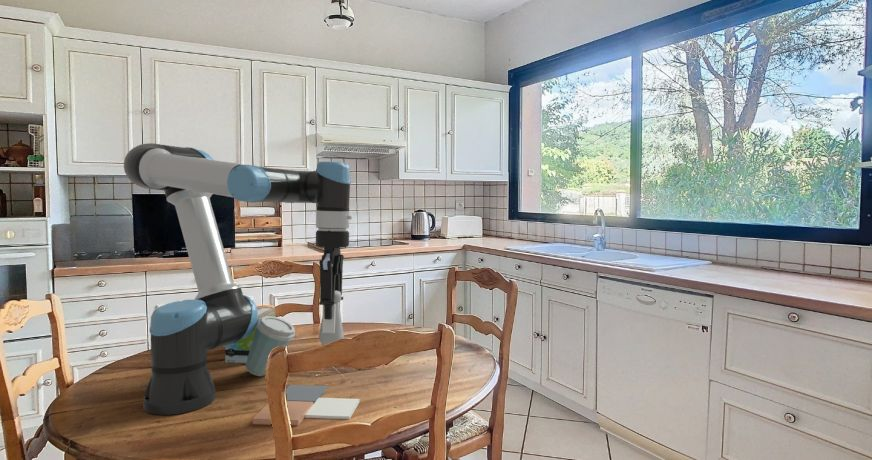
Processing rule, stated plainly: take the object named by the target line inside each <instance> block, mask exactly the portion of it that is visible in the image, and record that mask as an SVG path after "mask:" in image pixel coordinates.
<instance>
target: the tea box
mask: <svg viewBox="0 0 872 460" xmlns="http://www.w3.org/2000/svg"><path fill="white" fill-rule="evenodd" d="M257 311H258V320H259V319H260V318H262V317H265V316H272V317H276V308H274V307H273V308H271V307H269V308H268V307H266V308H265V307H264V308H263V307H262V308H261V307H260V308H259V307H257ZM258 320H257V322H258ZM256 328H257V326H255V328H254V331H253V332H252V333H251V335H249V336H248V337H247V338H245V339H242V340H240V341H238V342H236V343H232V344H228V345H225V348H224V351H225V352H224V353H225V355H224V362H225V364H230V363H231V364H246V362H247V358H248V355H249V351H250V348H251V345H252V341H253V338H254V334H255V331H256Z"/></svg>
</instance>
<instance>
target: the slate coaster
mask: <svg viewBox="0 0 872 460" xmlns="http://www.w3.org/2000/svg"><path fill="white" fill-rule="evenodd" d="M286 388H287V389H286ZM286 388H285V389H286V394H287V401H304V402H313V404H314V403H315V402H316V400H317V399H318V398H322V396H323V395H324V394H325V392H326V390H328V388H329V386H328V385H305V384H303V385H302V384H289V385H288V386H287V387H286Z"/></svg>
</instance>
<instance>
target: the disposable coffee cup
mask: <svg viewBox="0 0 872 460" xmlns="http://www.w3.org/2000/svg"><path fill="white" fill-rule="evenodd" d="M256 326H257V328H256V331H255V334H254V338H253V341H252V345H251V348H250V351H249V355H248V358H247V362H246V363H245V369H246V370H247V372H249V374H251V375H253V376H257V377H264V376H266V375H265V368H266V363H267V359H268V355H269V353H270V351H271V350H272V349H273V348H275V347H277V346H282V345H285V346H287V347H288V346H289V345H290V343H291V341H292V340H294V338H295V336H296V335H295V334H296V329H295V327H294V325H293V324H292V323H291V322H289V321H286V320H285V319H283V318H280V317H278V316H277V317H276V316H275V317H272V316H265V317H262V318H260V319H259V320H258V322H257V325H256Z"/></svg>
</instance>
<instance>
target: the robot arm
mask: <svg viewBox="0 0 872 460" xmlns="http://www.w3.org/2000/svg"><path fill="white" fill-rule="evenodd" d="M350 169H351V168H350V165H349V164H348V163H347V162H343V161H342V162H341V161H325V160H324V161H319V162H317V163H316V169H315V170H293V169H292V170H291V169H282V168H273V167H265V166H258V165H251V164H241V163H237V162H236V163H235V162H234V163H233V162H228V161H220V160H215V159H214V158H213V157H212V156H211V155H210V154H209V153H207V152H206V151H203V150H202V149H201V150H200V149H197V148H194V147H189V146H188V147H184V146H183V147H181V146H174V145H166V144H160V143H151V142H150V143H149V142H148V143H143V144H139V145H136V146H135V147H132V148H131V149H130V150H129V151H128V152H127V153H126V155H125V157H124V160H123V170H124V173H125V175H126V176H127V178H128V180H129V181H130V182H132V183H133V184H134V185H136V186H138V187H140V188H143V189H147V190H153V191H154V190H156V191H164V195H165V197H166V202H168V203H170V204H171V205H173V206H174V207H175V211H176V214H177V218H178V222H179V226H180V229H181V232H182V237H183V241H184V243H185V248H186V251H187V255H188V258H189V262H190V266H191V270H192V273H193V277H194V280H195V281H194V282H195V283H196V287H197V295H196V296H195V297H194V298H193V299H184V300H181V301H179V300H177V301H171V302H170V303H166V304H163V305H161V306H159V307H157V308H156V309H154V311H152V313H151V314H150V315H151V316H150V325H149V326H150V327H149V333H150V360H151V361H150V362H151V363H150V364H151V367H150V368H151V372H150V373H151V375H150V377H149V381H148V382H147V383H148V384H147V386H146V390H145V392H144V396H143V400H142V401H143V404H142V405H143V408H142V409H143V410H144V412H146V413H148V414H151V415H158V416H159V415H160V416H166V415H167V416H168V415H170V416H171V415H178V414H183V413H189V412H192V411H196V410H199V409H202V408H204V407H207V406H208V405H209V404H211V403H213V402H214V401H215V399H216V387H215V384H214V382H213V378H212V376H211V373H210V371H209V369H208V361H207V358H208V357H207V356H208V355H207V354H208V351H211V350H215V349H218V348H220V347H224V346H225V345H228V344H232V343H236V342H238V341H240V340H242V339H245V338H247V337H248V336H249V335H251V333H252V332H253V331H254V328H255V326H256V325H257V320H258V311H257V308H258V307H257V305H256V303H255V301H254V300H253V299H251V297H249V296H247V295H244V293H243V291H242V287H241V286H240V285H238V284H236V283H234V281H233V278H232V274H231V270H230V266H229V262H228V259H227V257H226V256H227V255H226V252H225V249H224V245H223V241H222V239H221V235H220V231H219V227H218V224H217V220H216V216H215V212H214V210H213V207H212V203H211V202H212V201H211V197H212V196H213V195H216V196H217V195H218V196H224V197H228V198H229V197H230V198H233V199H235V200H236V201H239V202H245V203H251V204H252V203H285V204H286V203H287V204H296V203H297V204H315V209H316V210H315V228H316V229H318V230H316V231H315V245H316V247H318V248H323V254H322V255H321V259H320V260H319V263H318V264H319V274H320V275H319V280H320V282H319V288H320V289H319V290H320V294H319V297H320V298H319V302H318V305H319V306H322V316H323V332H322V333H335V305H336V304H334V297H335V290H336V291H340V293H341V301H344V296H342V295H343V267H344V266H343V264H344V258H345V257H344V254H341V248H347V247H349V245H350V232H349V231H348V230H347V229H349V228H350V221H351V220H353V217H352V215H350V193H351V175H350V173H351V172H350ZM341 301H339V307H340V304H341V303H340V302H341Z"/></svg>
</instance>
